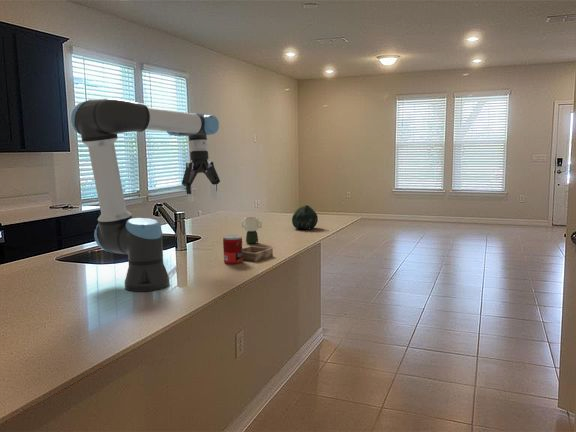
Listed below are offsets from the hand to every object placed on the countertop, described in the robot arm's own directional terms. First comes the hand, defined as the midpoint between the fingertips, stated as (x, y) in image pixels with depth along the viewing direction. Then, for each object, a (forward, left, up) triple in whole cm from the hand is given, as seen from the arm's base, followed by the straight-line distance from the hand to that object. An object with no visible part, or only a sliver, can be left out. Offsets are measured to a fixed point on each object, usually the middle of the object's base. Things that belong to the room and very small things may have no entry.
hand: (203, 200), depth 212 cm
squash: (+90, +6, -26) cm, 94 cm away
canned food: (+1, -15, -26) cm, 30 cm away
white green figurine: (+39, +5, -26) cm, 47 cm away
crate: (+13, -16, -26) cm, 33 cm away
